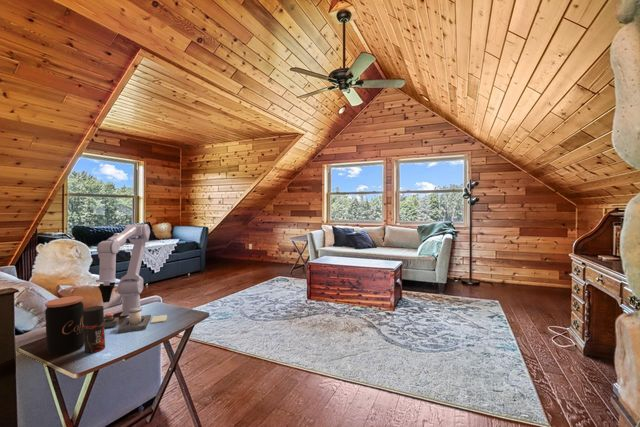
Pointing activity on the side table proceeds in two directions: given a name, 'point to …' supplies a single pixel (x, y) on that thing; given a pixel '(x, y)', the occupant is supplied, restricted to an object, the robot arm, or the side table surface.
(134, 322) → the cartridge
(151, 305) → the side table surface
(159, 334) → the side table surface
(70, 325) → the coffee jar
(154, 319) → the tray
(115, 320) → the console
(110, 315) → the plunger
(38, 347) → the side table surface
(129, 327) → the housing
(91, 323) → the deodorant
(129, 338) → the side table surface
